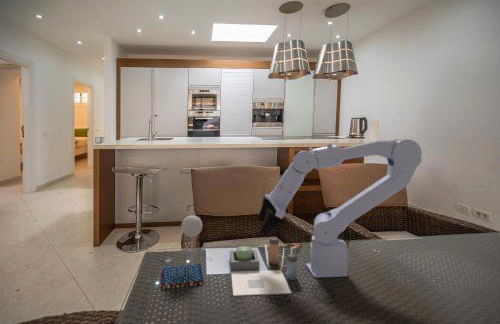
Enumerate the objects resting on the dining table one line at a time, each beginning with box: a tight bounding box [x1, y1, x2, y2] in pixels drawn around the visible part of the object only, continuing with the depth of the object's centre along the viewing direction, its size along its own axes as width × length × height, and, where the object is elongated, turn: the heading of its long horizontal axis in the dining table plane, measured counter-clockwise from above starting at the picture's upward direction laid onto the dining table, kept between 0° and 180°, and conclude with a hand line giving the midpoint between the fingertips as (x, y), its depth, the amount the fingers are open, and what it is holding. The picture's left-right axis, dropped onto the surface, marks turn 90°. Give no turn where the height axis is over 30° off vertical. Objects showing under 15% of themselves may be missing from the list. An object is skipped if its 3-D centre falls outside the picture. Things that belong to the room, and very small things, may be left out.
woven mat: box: [160, 263, 205, 290], centre depth 78 cm, size 10×11×2 cm
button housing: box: [229, 249, 260, 272], centre depth 87 cm, size 8×8×2 cm
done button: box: [235, 245, 253, 261], centre depth 87 cm, size 5×5×3 cm
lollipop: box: [180, 214, 204, 265], centre depth 84 cm, size 6×6×15 cm
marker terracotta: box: [268, 237, 280, 265], centre depth 89 cm, size 3×3×7 cm
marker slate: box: [285, 253, 298, 281], centre depth 79 cm, size 3×3×6 cm
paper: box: [230, 269, 292, 297], centre depth 76 cm, size 14×12×1 cm
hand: (261, 226), depth 86 cm, fingers open, 7 cm apart
